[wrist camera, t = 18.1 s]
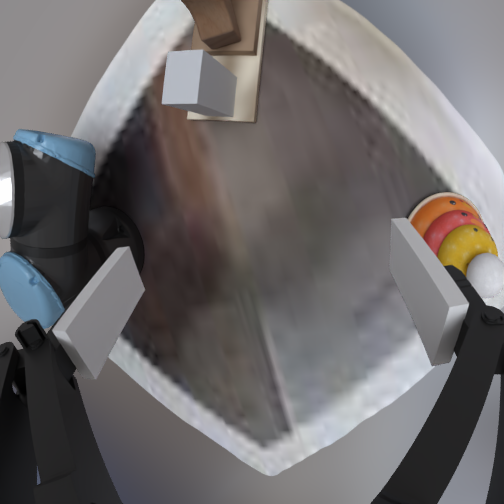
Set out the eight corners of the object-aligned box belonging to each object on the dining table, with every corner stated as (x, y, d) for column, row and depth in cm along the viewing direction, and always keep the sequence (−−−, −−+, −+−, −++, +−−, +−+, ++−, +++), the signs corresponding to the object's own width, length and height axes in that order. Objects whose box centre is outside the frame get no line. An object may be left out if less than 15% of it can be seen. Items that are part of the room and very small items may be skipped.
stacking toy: (493, 218, 40) (565, 256, 22) (451, 294, 45) (501, 363, 27) (425, 173, 41) (488, 188, 22) (382, 257, 46) (415, 320, 27)
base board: (191, 119, 45) (180, 117, 42) (205, 0, 39) (197, -10, 35) (255, 122, 44) (250, 120, 40) (268, -2, 37) (263, -14, 33)
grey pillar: (206, 116, 43) (161, 104, 30) (210, 77, 41) (168, 52, 28) (233, 117, 43) (197, 103, 30) (237, 77, 41) (203, 49, 28)
